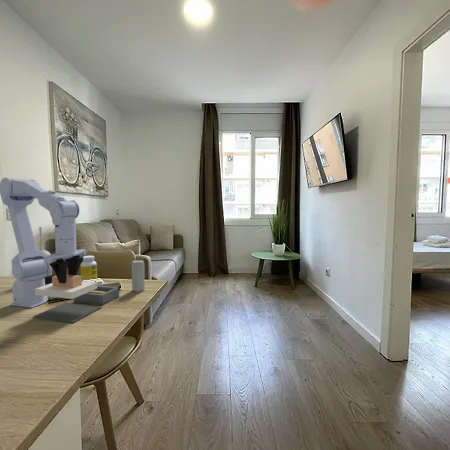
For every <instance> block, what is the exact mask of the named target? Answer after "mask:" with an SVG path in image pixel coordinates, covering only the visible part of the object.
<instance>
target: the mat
mask: <svg viewBox="0 0 450 450" xmlns="http://www.w3.org/2000/svg"><path fill="white" fill-rule="evenodd" d="M102 308H103V307H102V306H101V305H92V304H91V305H90V304H83V303H82V304H81V303H80V304H79V303H73V302H72V303H70V302H63V303H61V304H59V305H55V306H54V307H50V309H47V310H44V311H43V312H42V311H41V312H40V313H38V314H37V313H36V314H35V315H33V316H32V318H33V319H39V320H46V321H53V322H63V323H69V324H75V323H77V322H79V321H80V320H83V319H85V318H86V317H88V316H90V315H92V314H94V313H95V312H97V311H99V310H101V309H102Z"/></svg>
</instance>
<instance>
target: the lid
mask: <svg viewBox="0 0 450 450" xmlns="http://www.w3.org/2000/svg"><path fill="white" fill-rule="evenodd" d="M97 286H98V281H96V282H86V281H82V276H81V275H78V274H77V275H68V274H66V283H59V282H58V279H57V276H56V275H54V276H53V277H52V283H50V284H46V285H45V286H42V287H39V288H36V289H35V295H39V296H45V297H47V298H60V299H66V300H67V299H69V300H70V299H71V300H74V298H76V297H78V296H80V295H83V294H85V293H87V292H90V291H92V290H95V289H97Z"/></svg>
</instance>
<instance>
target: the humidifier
mask: <svg viewBox="0 0 450 450" xmlns="http://www.w3.org/2000/svg"><path fill="white" fill-rule="evenodd" d="M38 230H39V237H40V239H39V246H40V247H39V250H40V251H42V252H44V253H45V255H46V256H49V255H52V254H51V253H50V252H49V251H48V250H46V249H47V248H45V249H44V246H43V239H44V237H43V232H42V226H39V228H38ZM53 276H55V275H54V274H53V268H52V267H51V266H50V271H49V273H48V274H47V276H46V277H45V285H48V284H51V283H52V277H53Z"/></svg>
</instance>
